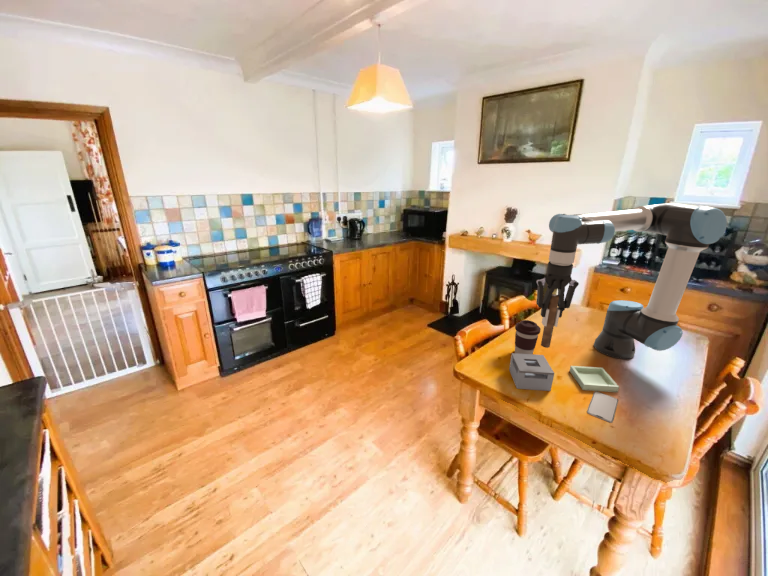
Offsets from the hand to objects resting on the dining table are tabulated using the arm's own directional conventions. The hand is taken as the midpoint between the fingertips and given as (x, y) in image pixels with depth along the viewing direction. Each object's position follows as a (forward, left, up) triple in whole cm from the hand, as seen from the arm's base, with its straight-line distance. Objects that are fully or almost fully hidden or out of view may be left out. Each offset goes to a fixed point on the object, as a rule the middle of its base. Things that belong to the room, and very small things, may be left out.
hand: (549, 324), depth 117 cm
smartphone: (-17, +13, -25) cm, 33 cm away
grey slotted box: (+4, 0, -24) cm, 24 cm away
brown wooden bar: (0, 0, -9) cm, 9 cm away
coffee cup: (+1, -19, -24) cm, 31 cm away
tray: (-20, -2, -24) cm, 31 cm away
